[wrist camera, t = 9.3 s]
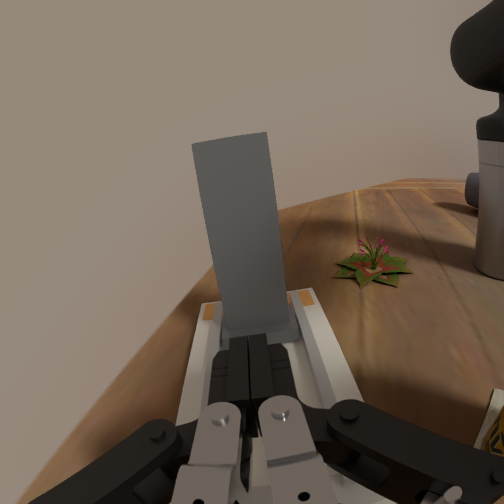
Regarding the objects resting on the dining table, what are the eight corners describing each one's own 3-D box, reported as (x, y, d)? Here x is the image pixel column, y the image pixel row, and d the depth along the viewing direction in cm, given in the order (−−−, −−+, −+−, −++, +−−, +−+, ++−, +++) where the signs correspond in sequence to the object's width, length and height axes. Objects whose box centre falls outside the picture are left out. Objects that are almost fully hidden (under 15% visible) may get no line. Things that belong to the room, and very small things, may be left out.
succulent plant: (407, 300, 29) (410, 263, 27) (315, 285, 36) (313, 251, 35) (419, 260, 38) (421, 230, 36) (348, 251, 45) (347, 224, 43)
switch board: (393, 510, 9) (408, 494, 8) (172, 536, 9) (150, 523, 8) (312, 303, 31) (311, 279, 30) (205, 318, 32) (199, 295, 31)
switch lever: (298, 339, 22) (275, 129, 17) (224, 350, 22) (181, 145, 17) (291, 313, 26) (269, 133, 21) (226, 323, 26) (191, 146, 21)
